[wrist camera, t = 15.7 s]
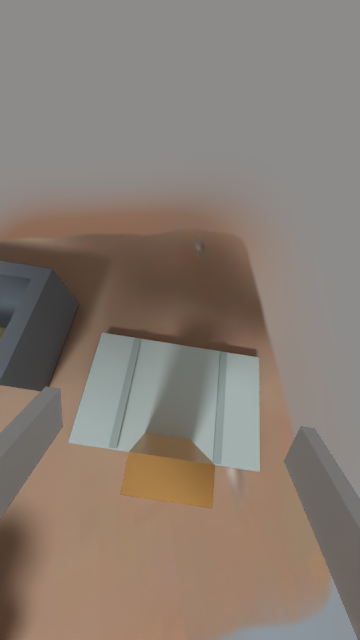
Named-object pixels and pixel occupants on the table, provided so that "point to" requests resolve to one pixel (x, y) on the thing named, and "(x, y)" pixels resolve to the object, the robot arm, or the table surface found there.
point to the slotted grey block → (171, 415)
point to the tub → (32, 324)
